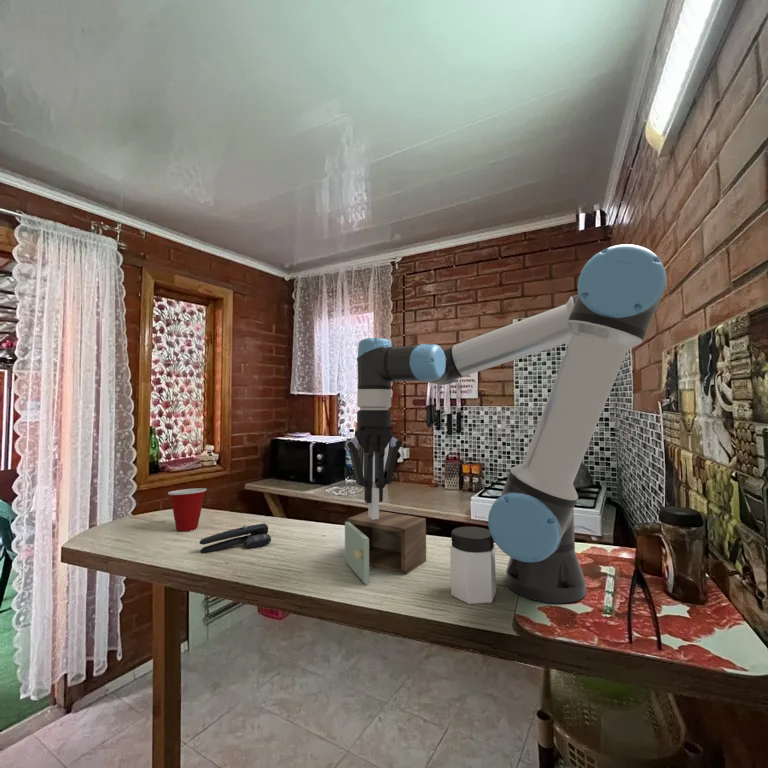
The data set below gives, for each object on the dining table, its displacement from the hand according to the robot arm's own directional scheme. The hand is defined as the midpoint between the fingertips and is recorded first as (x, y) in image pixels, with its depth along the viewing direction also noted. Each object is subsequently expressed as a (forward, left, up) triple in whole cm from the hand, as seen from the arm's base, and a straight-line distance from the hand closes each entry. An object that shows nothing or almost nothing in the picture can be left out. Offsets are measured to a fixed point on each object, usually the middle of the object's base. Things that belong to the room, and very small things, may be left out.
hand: (373, 517), depth 91 cm
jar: (-21, -4, -13) cm, 25 cm away
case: (+3, -10, -13) cm, 16 cm away
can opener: (+42, +3, -13) cm, 44 cm away
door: (+5, +1, -12) cm, 13 cm away
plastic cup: (+69, 0, -13) cm, 70 cm away
